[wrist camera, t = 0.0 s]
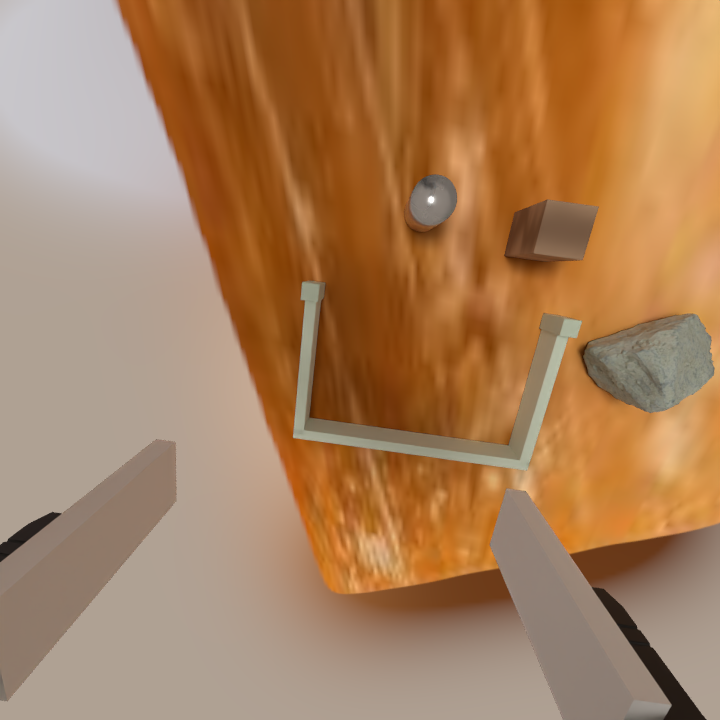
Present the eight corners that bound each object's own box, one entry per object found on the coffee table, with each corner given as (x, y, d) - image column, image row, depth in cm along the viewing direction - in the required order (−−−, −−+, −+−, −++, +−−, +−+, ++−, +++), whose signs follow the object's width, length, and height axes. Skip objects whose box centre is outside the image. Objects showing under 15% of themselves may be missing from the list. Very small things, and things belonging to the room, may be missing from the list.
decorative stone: (555, 395, 41) (649, 447, 34) (579, 317, 35) (701, 361, 27) (615, 354, 46) (708, 392, 39) (646, 279, 39) (764, 308, 32)
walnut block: (514, 212, 36) (547, 199, 29) (556, 218, 36) (598, 206, 29) (504, 255, 37) (533, 253, 30) (544, 261, 37) (582, 260, 30)
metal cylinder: (407, 189, 36) (415, 171, 29) (444, 195, 36) (461, 177, 29) (401, 229, 37) (407, 220, 30) (437, 234, 37) (451, 227, 30)
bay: (310, 280, 38) (302, 282, 34) (559, 315, 38) (581, 321, 34) (297, 424, 43) (288, 441, 39) (517, 455, 43) (533, 475, 39)
